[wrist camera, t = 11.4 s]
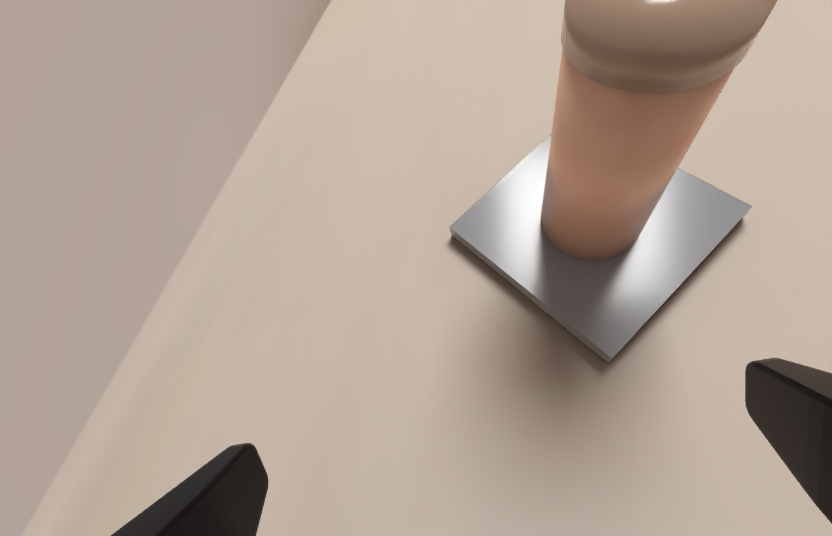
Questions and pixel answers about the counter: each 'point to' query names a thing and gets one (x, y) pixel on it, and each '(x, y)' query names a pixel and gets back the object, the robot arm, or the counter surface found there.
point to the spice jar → (633, 109)
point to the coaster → (596, 279)
